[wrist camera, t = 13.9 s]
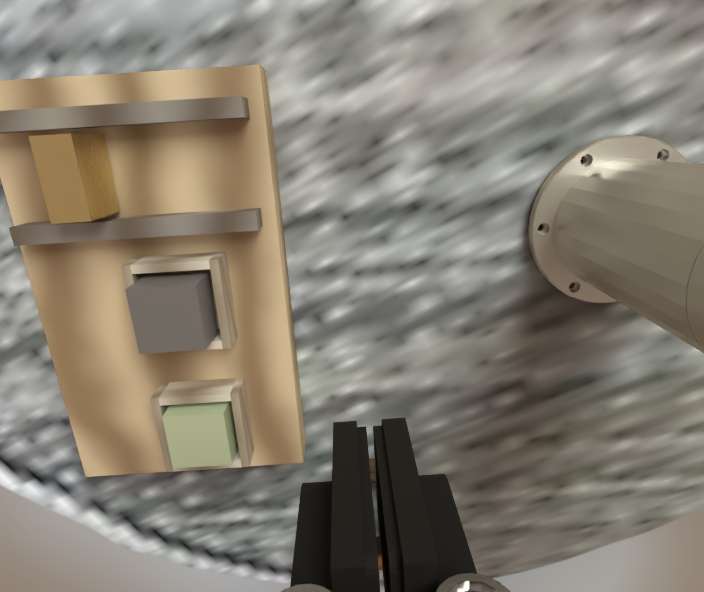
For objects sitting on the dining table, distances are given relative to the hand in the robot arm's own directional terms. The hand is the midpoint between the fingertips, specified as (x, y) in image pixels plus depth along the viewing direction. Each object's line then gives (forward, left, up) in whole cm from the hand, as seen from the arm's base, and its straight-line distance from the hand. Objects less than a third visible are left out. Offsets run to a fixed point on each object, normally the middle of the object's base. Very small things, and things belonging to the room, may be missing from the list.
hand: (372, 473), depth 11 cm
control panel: (+14, +3, -27) cm, 31 cm away
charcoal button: (+12, +3, -23) cm, 26 cm away
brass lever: (+17, -6, -24) cm, 30 cm away
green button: (+12, +13, -24) cm, 30 cm away
